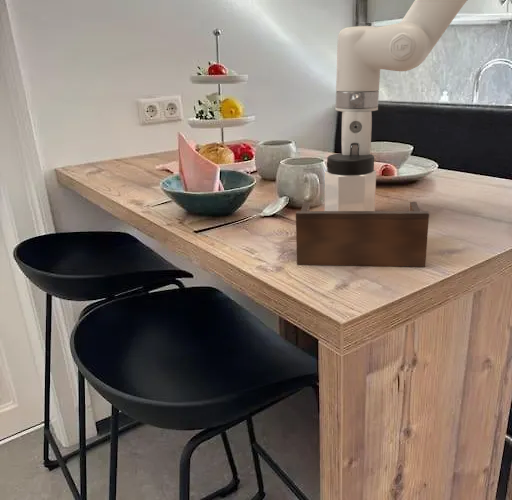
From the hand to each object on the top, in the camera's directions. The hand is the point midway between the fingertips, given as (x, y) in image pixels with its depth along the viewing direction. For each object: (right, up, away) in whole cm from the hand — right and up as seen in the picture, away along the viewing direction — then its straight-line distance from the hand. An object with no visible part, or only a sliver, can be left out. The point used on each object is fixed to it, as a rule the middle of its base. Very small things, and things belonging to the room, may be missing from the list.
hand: (352, 200), depth 96 cm
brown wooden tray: (-3, -10, -19) cm, 21 cm away
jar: (-1, -4, -5) cm, 7 cm away
